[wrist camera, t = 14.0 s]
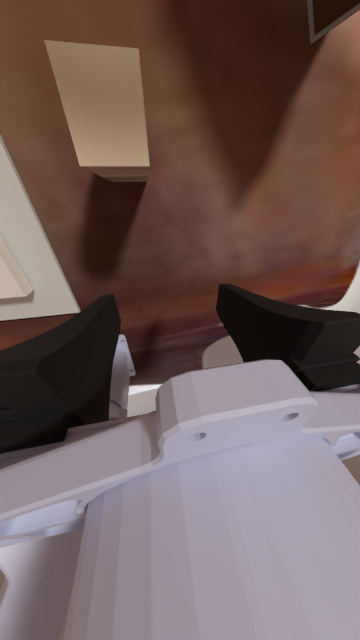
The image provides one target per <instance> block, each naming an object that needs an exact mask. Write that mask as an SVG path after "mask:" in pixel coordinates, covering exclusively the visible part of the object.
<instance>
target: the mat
mask: <svg viewBox="0 0 360 640" xmlns="http://www.w3.org/2000/svg"><path fill="white" fill-rule="evenodd" d="M0 236H1V237H2V239H3V241H4V242H5V244H6V246H7V247H8V249H9V251H10V252H11V254H12V255H13V257H14V259H15V260H16V262H17V264H18V265H19V267H20V269H21V270H22V272H23V274H24V275H25V277H26V279H27V280H28V282H29V284H30V285H31V287H32V288H33V291H32V292H31V293H30V294H28V295H27V296H24V297H13V298H2V299H0V321H2V320H12V319H21V318H31V317H41V316H50V315H60V314H70V313H79V312H80V309H79V306H78V304H77V302H76V300H75V298H74V295H73V293H72V291H71V289H70V287H69V284H68V282H67V280H66V278H65V276H64V273H63V271H62V269H61V267H60V265H59V262H58V260H57V258H56V256H55V254H54V251H53V249H52V247H51V245H50V243H49V240H48V238H47V236H46V234H45V232H44V229H43V227H42V225H41V223H40V221H39V218H38V216H37V214H36V212H35V210H34V207H33V205H32V203H31V201H30V199H29V196H28V194H27V192H26V190H25V188H24V185H23V183H22V181H21V179H20V177H19V174H18V172H17V170H16V168H15V166H14V163H13V161H12V159H11V157H10V155H9V152H8V150H7V148H6V146H5V144H4V141H3V139H2V137H1V135H0Z"/></svg>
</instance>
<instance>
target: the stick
mask: <svg viewBox="0 0 360 640" xmlns="http://www.w3.org/2000/svg"><path fill="white" fill-rule="evenodd" d="M44 41H45V44H46V48H47V51H48V55H49V58H50V62H51V65H52V69H53V73H54V76H55V80H56V83H57V87H58V90H59V94H60V97H61V101H62V104H63V108H64V112H65V115H66V119H67V122H68V126H69V129H70V133H71V136H72V140H73V143H74V147H75V151H76V154H77V158H78V161H79V165H80V167H83V168H85V169H87V170H89V171H91V172H93V173H95V174H97V175H99V176H101V177H103V178H105V179H107V180H109V181H111V182H147V179H148V173H149V167H150V165H149V154H148V143H147V133H146V122H145V112H144V101H143V91H142V80H141V70H140V59H139V49H137V48H126V47H115V46H103V45H92V44H81V43H70V42H59V41H48V40H44Z"/></svg>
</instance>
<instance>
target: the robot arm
mask: <svg viewBox="0 0 360 640" xmlns="http://www.w3.org/2000/svg"><path fill="white" fill-rule="evenodd" d="M216 310H217V313H218V315H219V318H220V320H221V321H222V323H223V325H224V326H225V328H226V330H227V331H228V333H229V335H230V336H231V338H232V339H233V341H234V343H235V344H236V346H237V348H238V350H239V352H240V355H241V357H242V359H243V361H244V363H238V364H232V365H226V366H219V367H213V368H206V369H200V370H194V371H188V372H185V373H182V374H179V375H176V376H173V377H171V378H170V379H169V380H168V381H166V382H165V383H164V384H163V385H161V386H160V387H159V388H158V392H157V395H156V411H153V412H151V413H148V414H143V415H138V416H132V417H127V403H128V392H129V380H130V376H133V375H135V374H136V372H135V368H134V365H133V361H132V358H131V354H130V351H129V348H128V344H127V341H126V337H125V336H124V335H119V334H120V324H121V319H120V315H119V312H118V308H117V305H116V302H115V298H114V295H113V294H109V295H103V296H101V297H100V298H98V299H97V300H95V301H94V302H93V303H92V304H90V305H89V306H88V307H86V308H85V309H84V310H82V311H81V312H79V313H78V314H76V315H75V316H74V317H72V318H71V319H69V320H67V321H66V322H64V323H62V324H61V325H59V326H57V327H55V328H53V329H51V330H49V331H47V332H45V333H43V334H41V335H39V336H37V337H34V338H32V339H30V340H27V341H25V342H23V343H20V344H17V345H15V346H12V347H10V348H7V349H4V350H1V351H0V569H1V571H2V572H3V573H4V574H5V577H6V579H5V581H4V584H3V586H2V589H1V592H0V640H60V639H61V635H62V631H63V627H64V623H65V619H66V615H67V611H68V607H69V603H70V607H69V612H68V618H67V623H66V628H65V634H64V639H63V640H360V486H359V484H358V483H357V482H356V480H355V479H354V478H353V476H352V475H351V474H350V472H349V471H348V470H347V468H346V467H345V466H344V464H343V463H342V462H341V460H343V459H346V458H350V457H353V456H357V455H359V454H360V364H358V363H357V362H356V361H358V360H360V359H359V357H358V356H357V355H355V354H354V353H353V352H354V351H355V350H356V349H357V348H358V347H359V346H360V314H359V313H355V312H347V311H333V310H323V309H315V308H308V307H302V306H297V305H292V304H287V303H283V302H279V301H275V300H272V299H269V298H266V297H263V296H260V295H257V294H254V293H252V292H249V291H247V290H244V289H242V288H239V287H237V286H234V285H231V284H219V291H218V298H217V305H216ZM122 340H124V341H122ZM70 599H71V601H70Z"/></svg>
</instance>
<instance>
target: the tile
mask: <svg viewBox="0 0 360 640" xmlns="http://www.w3.org/2000/svg"><path fill="white" fill-rule="evenodd" d="M32 291H33V288H32V287H31V285H30V284H29V282H28V280H27V279H26V277H25V275H24V274H23V272H22V270H21V269H20V267H19V265H18V264H17V262H16V260H15V259H14V257H13V255H12V254H11V252H10V251H9V249H8V247H7V246H6V244H5V242H4V241H3V239H2V237H1V236H0V299H2V298H13V297H24V296H27V295H28V294H30V293H31V292H32Z"/></svg>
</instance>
